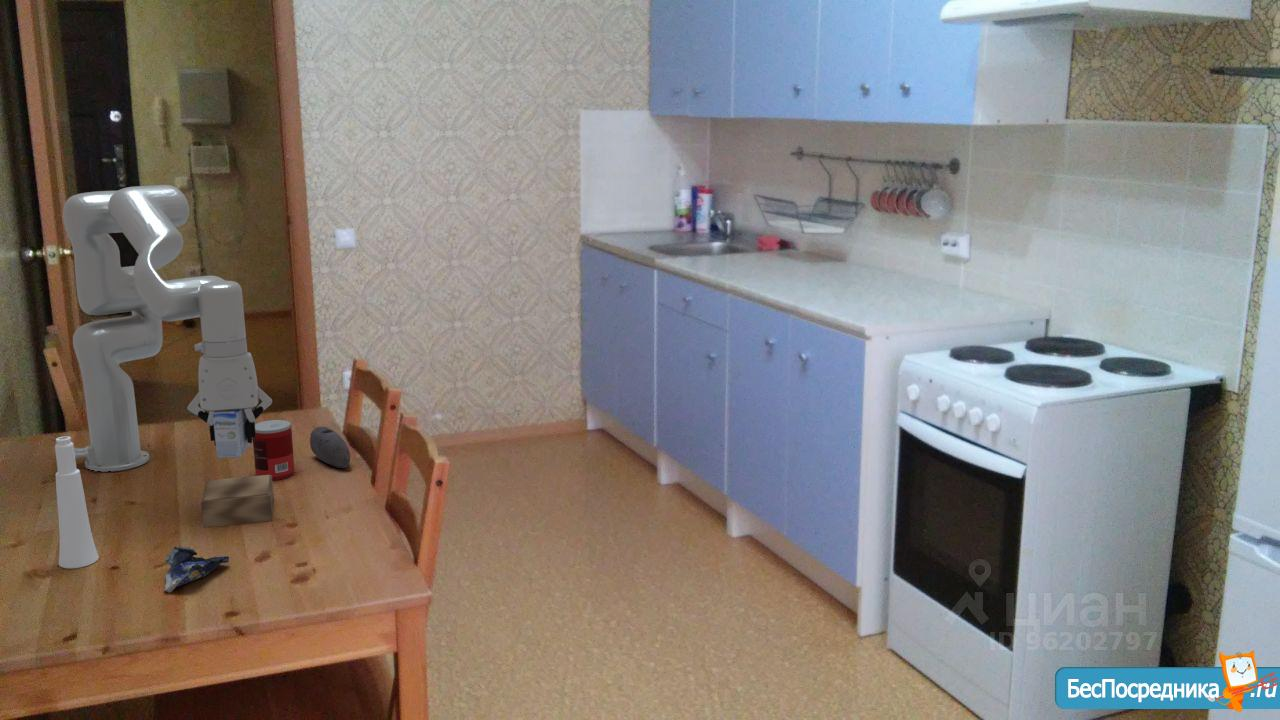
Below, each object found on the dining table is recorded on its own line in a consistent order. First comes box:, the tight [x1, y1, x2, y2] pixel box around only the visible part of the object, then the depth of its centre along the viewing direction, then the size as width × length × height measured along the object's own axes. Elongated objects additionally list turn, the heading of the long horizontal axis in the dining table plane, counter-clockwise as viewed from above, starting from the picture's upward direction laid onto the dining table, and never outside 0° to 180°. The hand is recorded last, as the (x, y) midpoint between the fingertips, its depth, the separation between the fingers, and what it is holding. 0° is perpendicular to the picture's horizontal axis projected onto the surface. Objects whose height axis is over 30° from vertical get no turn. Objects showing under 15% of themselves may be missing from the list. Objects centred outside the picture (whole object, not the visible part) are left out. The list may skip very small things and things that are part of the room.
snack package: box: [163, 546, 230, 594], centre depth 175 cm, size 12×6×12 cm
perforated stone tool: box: [309, 426, 351, 469], centre depth 230 cm, size 15×5×7 cm, turn 38°
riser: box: [200, 475, 275, 529], centre depth 202 cm, size 12×12×5 cm
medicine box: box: [213, 409, 252, 459], centre depth 199 cm, size 8×4×9 cm, turn 6°
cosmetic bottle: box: [54, 436, 99, 570], centre depth 178 cm, size 6×6×22 cm
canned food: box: [252, 419, 295, 482], centre depth 223 cm, size 8×8×11 cm
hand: (233, 441), depth 199 cm, fingers closed on medicine box, 5 cm apart
